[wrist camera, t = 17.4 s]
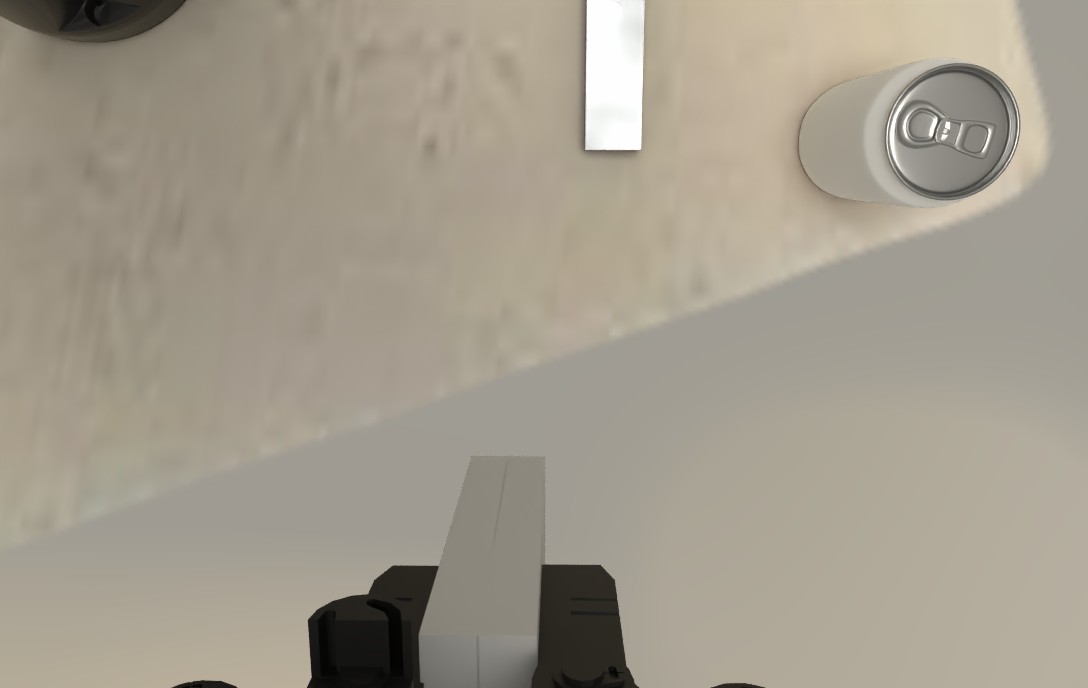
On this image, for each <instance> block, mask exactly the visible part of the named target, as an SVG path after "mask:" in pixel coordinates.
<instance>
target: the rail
mask: <svg viewBox="0 0 1088 688" xmlns="http://www.w3.org/2000/svg"><path fill="white" fill-rule="evenodd" d="M644 6H645V0H586V37H585V133H584V150H641V129H642V88H643V47H644Z"/></svg>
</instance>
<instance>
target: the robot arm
mask: <svg viewBox="0 0 1088 688" xmlns="http://www.w3.org/2000/svg"><path fill="white" fill-rule="evenodd" d="M184 1H185V0H0V16H2V17H3V18H5V19H7V20H9V21H11V22H13V23H15V24H18V25H20V26H22V27H25V28H28V29H30V30H33V31H37V32H40V33H44V34H48V35H52V36H56V37H60V38H64V39H69V40H74V41H83V42H105V41H113V40H118V39H123V38H127V37H130V36H133V35H136V34H139V33H141V32H144V31H146V30H148V29H150V28H152V27H153V26H155V25H157V24H158V23H160V22H161V21H163V20H164V19H166V18H167V17H168V16H170V15H171V14H172V13H173V12H174V11H175V10H176V9H177V8H178V7H179V6H180V5H181V4H182V3H183V2H184ZM308 627H309V643H310V658H311V673H312V678H311V680H310V682H309V684H308V687H307V688H639V687H638V686H636V684H635V683H634V679H633V677H632V675H631V673H630V670H629V669H628V668H627V667H626V660H625V653H624V645H623V638H622V630H621V623H620V616H619V609H618V602H617V593H616V586H615V580H614V579H613V578H612V577H611V576H610V575H609V574H608V573H607V572H606V570H605V569H604V568H603V567H602V566H601V565H545V457H515V456H514V457H512V456H472V457H471V460H470V463H469V467H468V470H467V473H466V477H465V480H464V483H463V487H462V490H461V494H460V497H459V500H458V504H457V507H456V510H455V514H454V517H453V521H452V524H451V527H450V531H449V534H448V537H447V541H446V544H445V547H444V551H443V554H442V558H441V561H440V564H439V566H392V567H391V568H389V569H388V570H387V571H385V572H384V573H383V574H382V575H380V576H379V577H378V578H377V579H376V580H374V582H373V585H372V587H371V589H370V591H369V594H367V595H355V596H349V597H346V598H343V599H339V600H335V601H332V602H330V603H328V604H327V605H325V606H323V607H321V608H319V609H318V610H317V611H316V612H315V613H314V614H313V615H312V616H311V617H310V618H309V619H308ZM173 688H237V687H236V686H233V685H230V684H227V683H225V682H222V681H204V680H201V681H193V682H191V683H190V682H188V683H184V684H180V685H177V686H175V687H173ZM712 688H764V687H760V686H756V685H752V684H746V683H729V684H722V685H718V686H715V687H712Z"/></svg>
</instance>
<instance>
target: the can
mask: <svg viewBox="0 0 1088 688" xmlns="http://www.w3.org/2000/svg"><path fill="white" fill-rule="evenodd" d="M1019 135H1020V115H1019V109H1018V106H1017V103H1016V100H1015V98H1014V96H1013V94H1012V92H1011V90H1010V89H1009V87H1008V86H1007V85H1006V84H1005V82H1004V81H1003V80H1002V79H1001V78H999V77H998V76H997V75H996V74H994V73H993V72H991V71H989V70H987V69H985V68H983V67H980V66H977V65H974V64H971V63H969V62H966V61H963V60H959V59H953V58H933V59H927V60H922V61H918V62H914V63H910V64H906V65H903V66H899V67H895V68H892V69H888V70H885V71H881V72H878V73H874V74H871V75H867V76H864V77H860V78H857V79H854V80H850V81H847V82H844V83H842V84H839V85H837V86H835V87H833V88H831V89H829V90H828V91H826V92H825V93H824V94H822V95H821V96H820V97H819V98H818V99H817V100H816V101H815V102H814V103H813V104H812V106H811V107H810V108H809V110H808V111H807V113H806V115H805V117H804V119H803V122H802V125H801V129H800V135H799V155H800V159H801V163H802V165H803V168H804V170H805V172H806V173H807V175H808V176H809V178H810V179H811V180H812V181H813V183H814V184H816V185H817V186H818V187H819V188H820V189H822V190H823V191H825V192H827V193H829V194H831V195H834V196H836V197H840V198H845V199H851V200H858V201H866V202H873V203H882V204H890V205H899V206H907V207H918V208H934V207H942V206H947V205H950V204H954V203H956V202H959V201H961V200H963V199H965V198H967V197H969V196H971V195H973V194H976V193H978V192H980V191H981V190H983V189H985V188H986V187H988V186H989V185H990V184H992V183H993V182H994V181H995V180H996V179H997V178H998V177H999V176H1000V175H1001V174H1002V173H1003V171H1004V170H1005V169H1006V167H1007V166H1008V164H1009V163H1010V161H1011V159H1012V157H1013V155H1014V153H1015V150H1016V147H1017V144H1018V140H1019Z"/></svg>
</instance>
